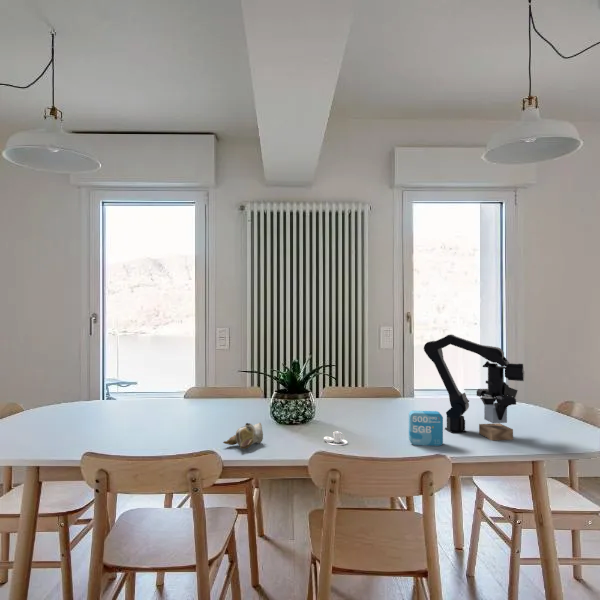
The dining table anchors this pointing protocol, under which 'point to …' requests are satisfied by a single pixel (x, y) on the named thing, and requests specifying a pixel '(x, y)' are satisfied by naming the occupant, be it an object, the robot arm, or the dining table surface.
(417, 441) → the data package
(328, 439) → the teacup and saucer
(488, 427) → the walnut block
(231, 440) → the ceramic sculpture
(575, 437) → the dining table surface
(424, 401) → the dining table surface
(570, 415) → the dining table surface
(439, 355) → the robot arm
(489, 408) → the slate cube
